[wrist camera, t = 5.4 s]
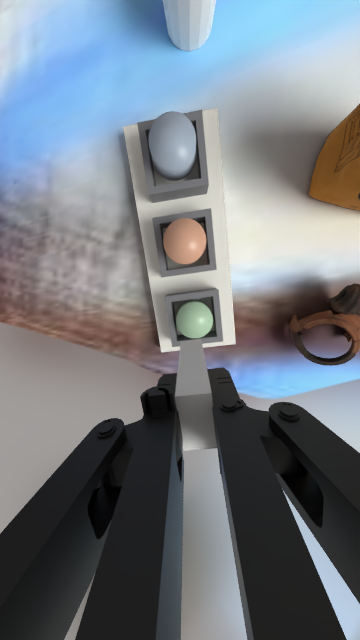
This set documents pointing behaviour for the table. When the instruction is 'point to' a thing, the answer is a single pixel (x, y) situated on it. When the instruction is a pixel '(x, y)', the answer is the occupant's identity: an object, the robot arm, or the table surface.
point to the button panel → (175, 203)
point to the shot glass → (189, 22)
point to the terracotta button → (184, 241)
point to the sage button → (194, 319)
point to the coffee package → (340, 165)
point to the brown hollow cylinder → (349, 319)
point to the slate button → (173, 145)
